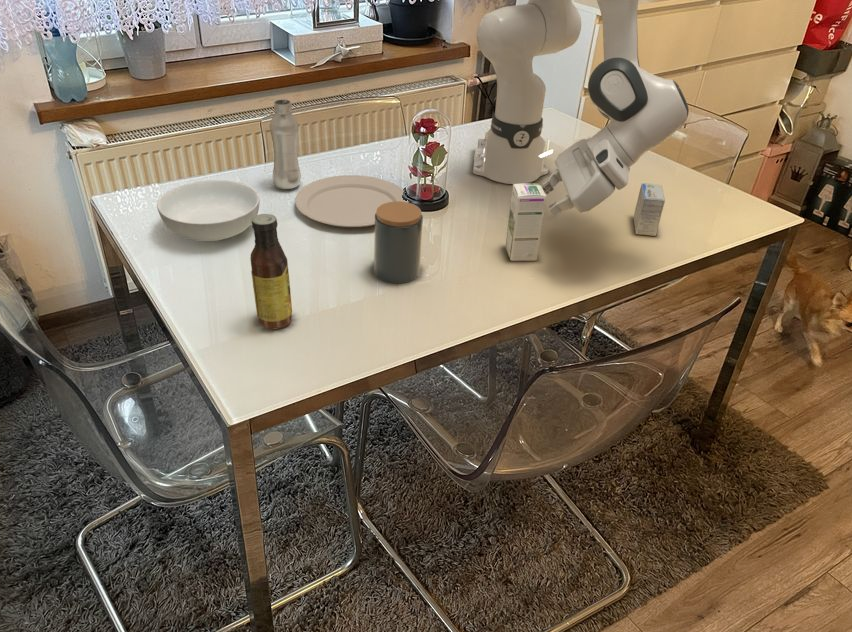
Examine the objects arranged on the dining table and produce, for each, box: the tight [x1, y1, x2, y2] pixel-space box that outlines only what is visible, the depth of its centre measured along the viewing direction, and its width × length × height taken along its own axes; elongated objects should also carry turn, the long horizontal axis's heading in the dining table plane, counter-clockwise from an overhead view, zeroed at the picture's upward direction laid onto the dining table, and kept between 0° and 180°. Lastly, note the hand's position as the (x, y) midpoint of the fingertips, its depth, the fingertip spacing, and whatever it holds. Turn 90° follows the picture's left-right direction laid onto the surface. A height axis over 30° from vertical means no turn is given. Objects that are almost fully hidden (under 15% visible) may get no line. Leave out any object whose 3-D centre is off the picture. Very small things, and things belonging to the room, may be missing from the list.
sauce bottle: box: [249, 213, 293, 330], centre depth 124 cm, size 7×6×20 cm
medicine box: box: [632, 182, 666, 237], centre depth 159 cm, size 8×4×9 cm, turn 168°
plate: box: [294, 174, 410, 228], centre depth 165 cm, size 26×26×2 cm
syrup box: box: [504, 182, 547, 262], centre depth 146 cm, size 6×6×14 cm
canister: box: [373, 201, 424, 284], centre depth 140 cm, size 9×9×13 cm
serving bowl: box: [156, 179, 261, 242], centre depth 154 cm, size 21×21×7 cm
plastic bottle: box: [269, 99, 302, 190], centre depth 168 cm, size 6×7×20 cm
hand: (547, 200), depth 143 cm, fingers open, 8 cm apart
